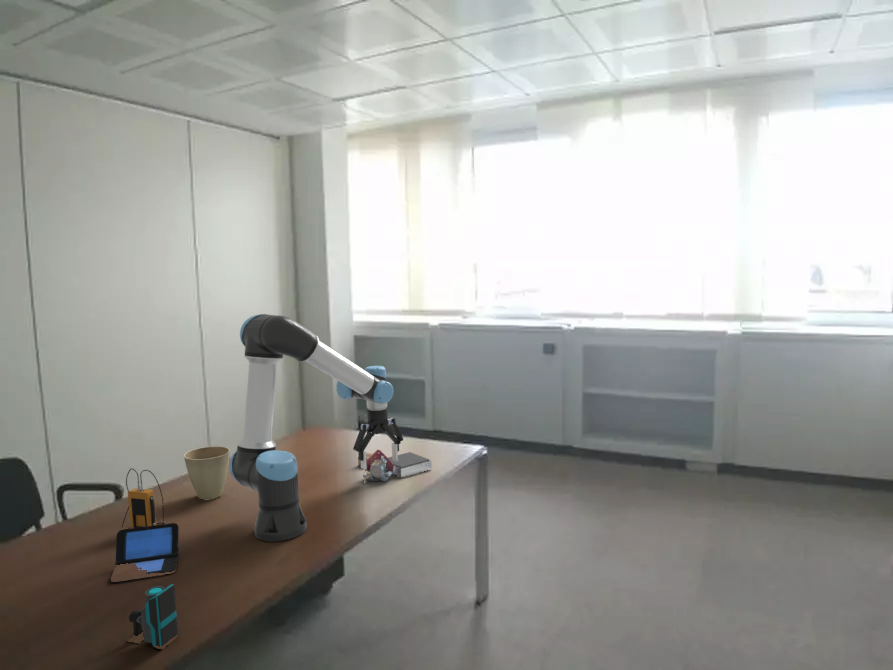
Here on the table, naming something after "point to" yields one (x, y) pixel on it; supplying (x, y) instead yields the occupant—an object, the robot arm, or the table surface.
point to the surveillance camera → (157, 616)
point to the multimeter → (142, 505)
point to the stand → (410, 464)
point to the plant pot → (208, 470)
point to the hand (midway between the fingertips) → (379, 464)
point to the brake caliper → (378, 468)
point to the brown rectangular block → (366, 458)
